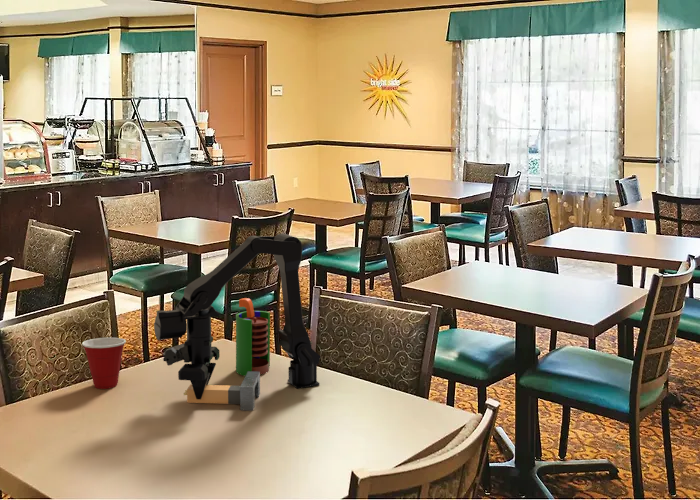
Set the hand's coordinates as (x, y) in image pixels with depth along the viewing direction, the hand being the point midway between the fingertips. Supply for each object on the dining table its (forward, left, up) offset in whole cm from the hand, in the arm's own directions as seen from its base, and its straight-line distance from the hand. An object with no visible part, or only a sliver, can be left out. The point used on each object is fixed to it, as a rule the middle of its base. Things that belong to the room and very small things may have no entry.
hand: (200, 396), depth 192 cm
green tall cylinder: (-20, -16, -1) cm, 25 cm away
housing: (-11, +6, -1) cm, 12 cm away
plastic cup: (+18, -22, -1) cm, 29 cm away
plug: (-4, +3, -1) cm, 5 cm away
